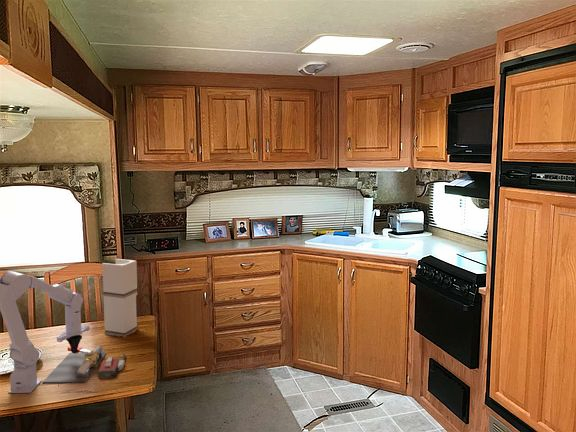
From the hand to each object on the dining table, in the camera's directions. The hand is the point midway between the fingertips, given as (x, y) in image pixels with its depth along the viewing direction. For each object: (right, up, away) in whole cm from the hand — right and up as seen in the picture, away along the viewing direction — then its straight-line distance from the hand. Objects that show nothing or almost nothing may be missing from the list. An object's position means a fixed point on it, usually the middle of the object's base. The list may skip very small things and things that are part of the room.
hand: (74, 352), depth 195 cm
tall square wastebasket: (+6, -1, +38) cm, 39 cm away
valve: (+7, -6, 0) cm, 9 cm away
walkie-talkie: (+16, -7, +1) cm, 17 cm away
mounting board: (+1, -6, -1) cm, 6 cm away
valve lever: (+2, 0, +1) cm, 3 cm away
